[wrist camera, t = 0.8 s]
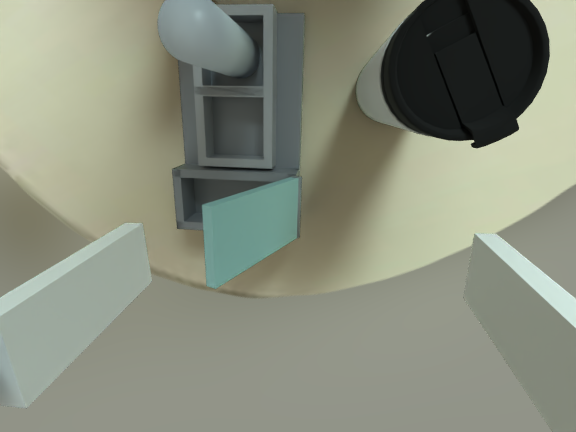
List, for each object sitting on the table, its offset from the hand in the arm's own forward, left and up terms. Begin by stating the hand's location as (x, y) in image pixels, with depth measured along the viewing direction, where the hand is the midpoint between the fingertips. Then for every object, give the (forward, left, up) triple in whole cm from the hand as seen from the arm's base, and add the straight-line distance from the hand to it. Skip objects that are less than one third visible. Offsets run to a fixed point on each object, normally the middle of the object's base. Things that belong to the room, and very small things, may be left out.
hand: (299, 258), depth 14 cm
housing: (-4, -8, -23) cm, 24 cm away
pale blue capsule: (-10, -8, -23) cm, 26 cm away
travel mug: (-8, +6, -23) cm, 25 cm away
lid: (+3, -5, -13) cm, 14 cm away
